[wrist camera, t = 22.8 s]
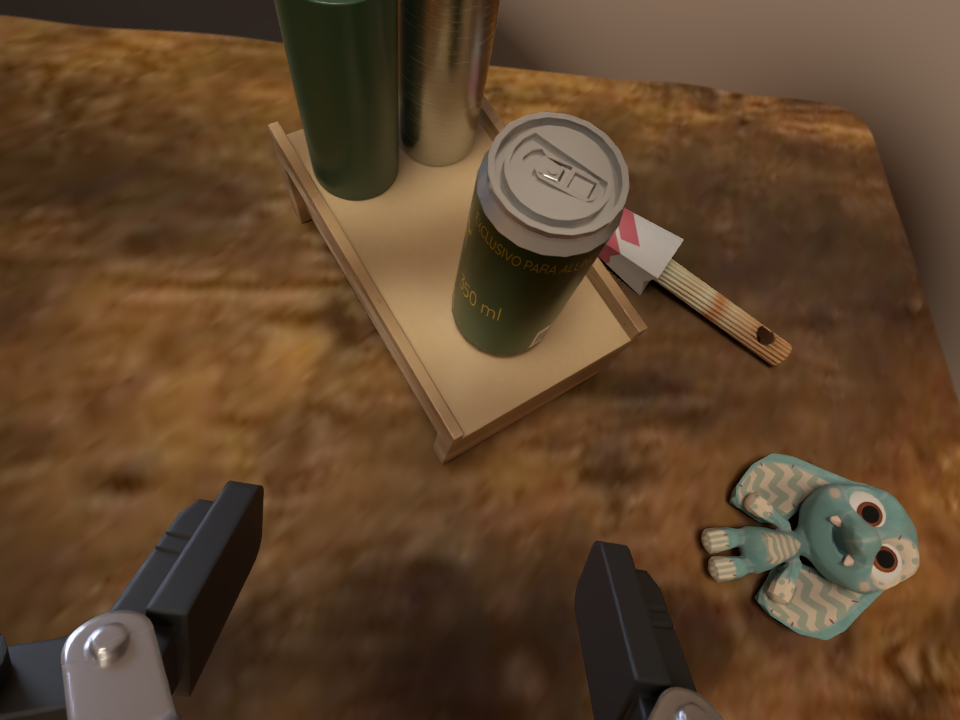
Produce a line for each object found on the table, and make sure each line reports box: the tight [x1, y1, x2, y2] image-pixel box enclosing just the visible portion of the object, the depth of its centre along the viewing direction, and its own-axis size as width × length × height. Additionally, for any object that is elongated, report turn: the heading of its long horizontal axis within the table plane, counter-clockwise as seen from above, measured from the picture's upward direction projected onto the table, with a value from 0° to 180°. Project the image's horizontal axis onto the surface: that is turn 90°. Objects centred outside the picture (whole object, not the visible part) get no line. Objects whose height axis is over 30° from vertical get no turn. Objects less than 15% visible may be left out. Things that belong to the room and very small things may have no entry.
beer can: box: [452, 112, 629, 355], centre depth 25 cm, size 5×5×12 cm
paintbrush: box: [598, 208, 792, 366], centre depth 39 cm, size 4×3×20 cm
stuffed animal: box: [701, 453, 920, 640], centre depth 33 cm, size 11×7×12 cm
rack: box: [268, 0, 648, 464], centre depth 29 cm, size 20×12×19 cm, turn 31°
